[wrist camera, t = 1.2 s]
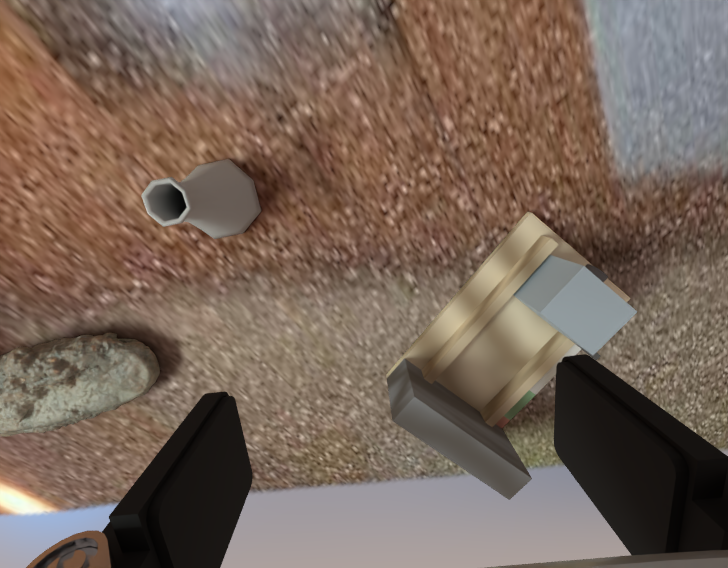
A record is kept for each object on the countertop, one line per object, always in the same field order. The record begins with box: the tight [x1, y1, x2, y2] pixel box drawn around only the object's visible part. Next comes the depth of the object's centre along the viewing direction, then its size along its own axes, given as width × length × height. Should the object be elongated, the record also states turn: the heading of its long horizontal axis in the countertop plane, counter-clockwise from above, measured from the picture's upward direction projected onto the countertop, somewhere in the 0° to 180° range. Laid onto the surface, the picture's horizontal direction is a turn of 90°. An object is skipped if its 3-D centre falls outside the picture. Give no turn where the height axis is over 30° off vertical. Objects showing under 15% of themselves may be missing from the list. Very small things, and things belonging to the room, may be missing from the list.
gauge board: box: [386, 212, 631, 499], centre depth 33 cm, size 22×14×8 cm, turn 143°
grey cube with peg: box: [513, 255, 637, 360], centre depth 32 cm, size 6×10×6 cm, turn 52°
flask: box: [141, 159, 261, 239], centre depth 29 cm, size 7×7×10 cm
